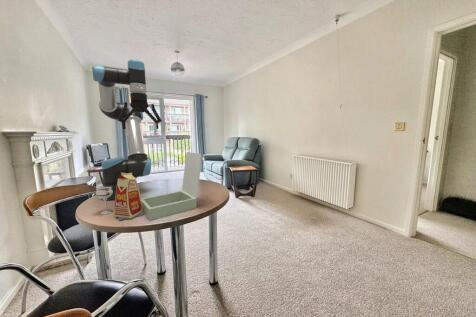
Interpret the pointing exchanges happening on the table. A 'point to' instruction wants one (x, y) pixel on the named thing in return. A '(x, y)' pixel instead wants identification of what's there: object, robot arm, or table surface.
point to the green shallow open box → (168, 209)
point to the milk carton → (127, 197)
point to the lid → (192, 173)
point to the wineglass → (104, 196)
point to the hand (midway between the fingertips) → (141, 135)
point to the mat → (132, 217)
